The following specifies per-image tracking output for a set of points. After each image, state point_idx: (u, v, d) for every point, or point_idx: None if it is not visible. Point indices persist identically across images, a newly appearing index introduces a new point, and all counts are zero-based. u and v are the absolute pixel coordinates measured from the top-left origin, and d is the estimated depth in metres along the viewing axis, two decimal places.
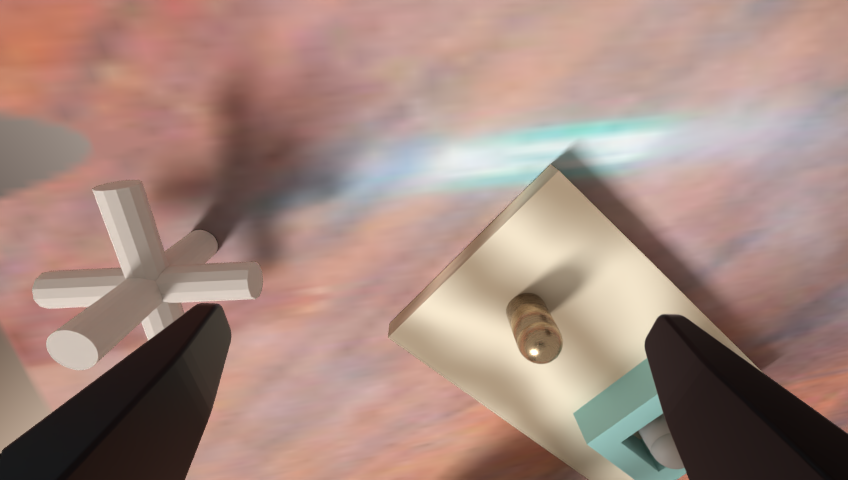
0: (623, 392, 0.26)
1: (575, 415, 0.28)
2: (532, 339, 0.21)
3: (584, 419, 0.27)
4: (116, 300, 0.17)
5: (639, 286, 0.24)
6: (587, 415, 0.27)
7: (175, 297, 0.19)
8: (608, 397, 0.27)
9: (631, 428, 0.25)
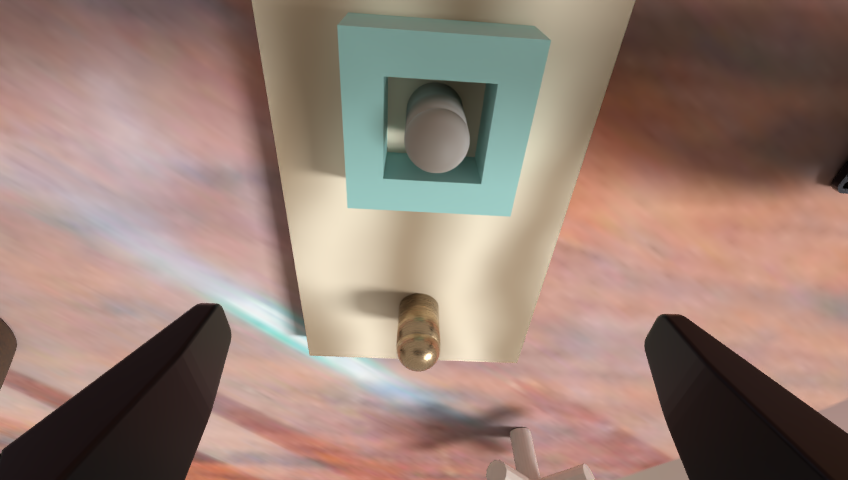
0: None
1: None
2: None
3: None
4: None
5: (320, 253, 0.22)
6: None
7: None
8: None
9: (451, 191, 0.17)
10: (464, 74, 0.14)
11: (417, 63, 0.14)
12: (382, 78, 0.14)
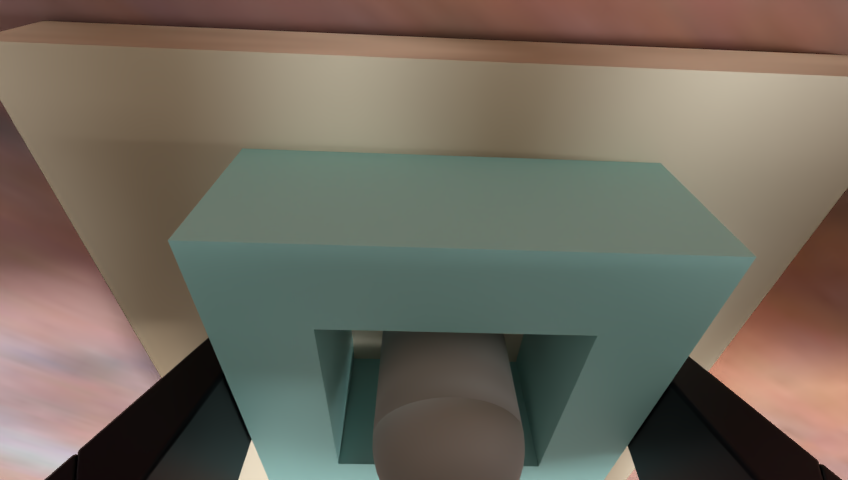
0: None
1: None
2: None
3: None
4: None
5: (259, 470, 0.14)
6: None
7: None
8: None
9: None
10: (516, 322, 0.06)
11: (396, 304, 0.05)
12: (311, 332, 0.06)
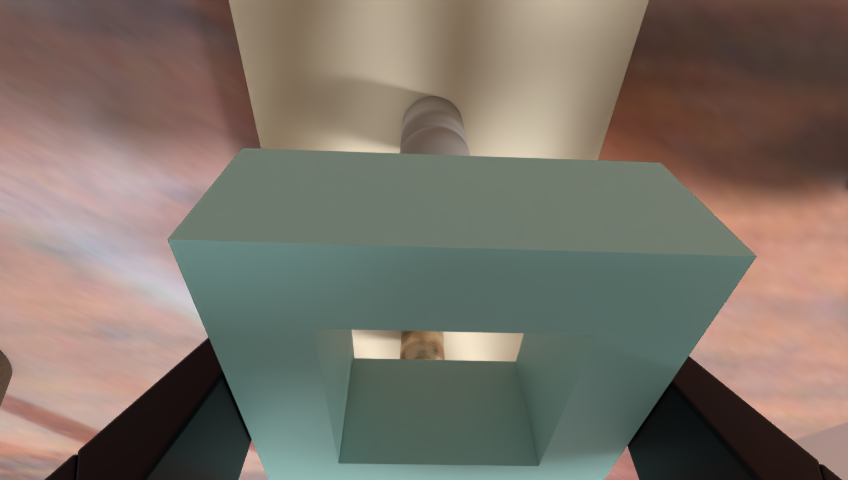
0: None
1: None
2: None
3: None
4: None
5: None
6: None
7: None
8: None
9: (477, 475, 0.08)
10: (515, 321, 0.06)
11: (396, 304, 0.05)
12: (311, 331, 0.06)
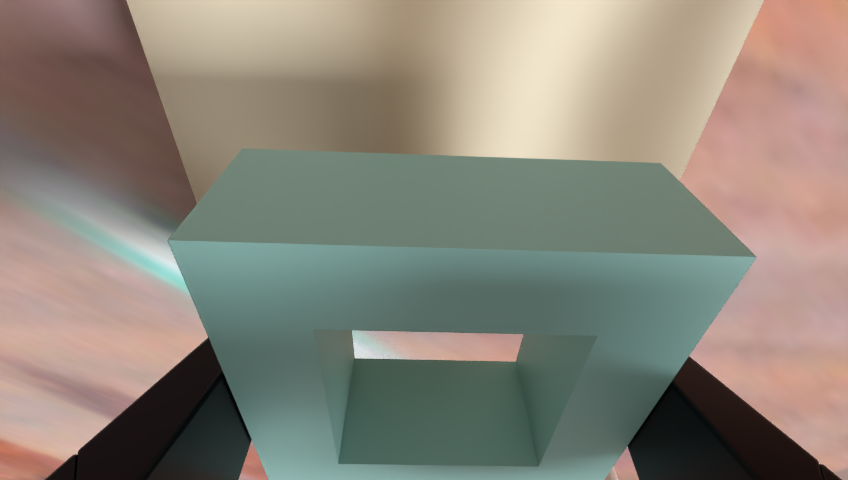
0: None
1: None
2: None
3: None
4: None
5: (208, 59, 0.10)
6: None
7: None
8: None
9: (477, 475, 0.08)
10: (515, 322, 0.06)
11: (396, 304, 0.05)
12: (311, 332, 0.06)
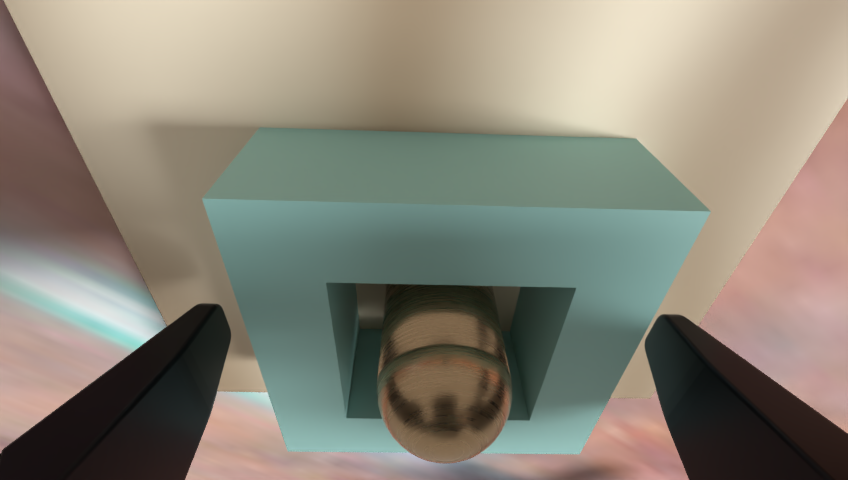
0: None
1: None
2: None
3: None
4: None
5: (138, 103, 0.07)
6: None
7: None
8: None
9: None
10: (504, 274, 0.06)
11: (398, 259, 0.06)
12: (323, 285, 0.07)
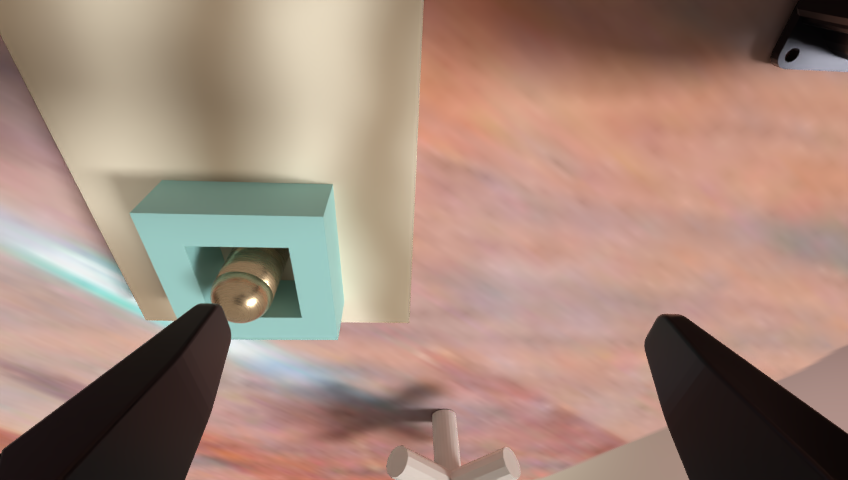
0: None
1: None
2: None
3: None
4: None
5: (106, 170, 0.17)
6: None
7: None
8: None
9: (276, 324, 0.19)
10: (255, 242, 0.16)
11: (211, 236, 0.16)
12: (183, 247, 0.16)
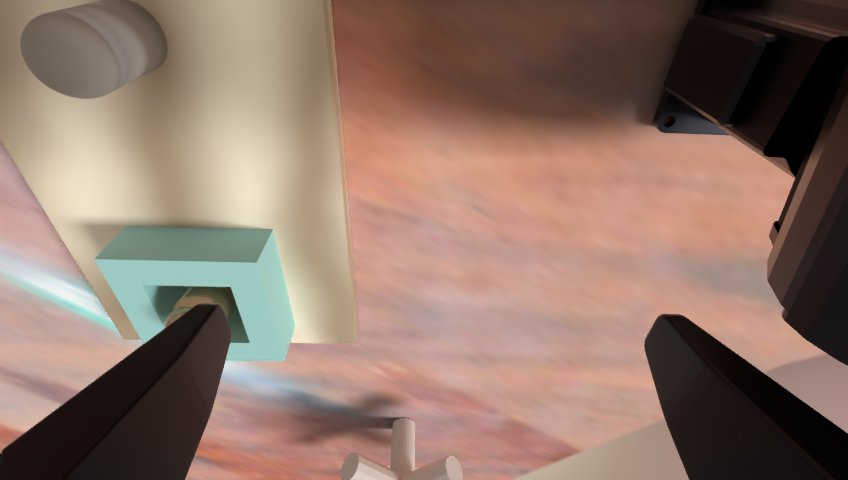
0: None
1: None
2: None
3: None
4: None
5: (79, 218, 0.20)
6: None
7: None
8: None
9: None
10: (202, 282, 0.19)
11: (164, 277, 0.19)
12: (141, 286, 0.19)
